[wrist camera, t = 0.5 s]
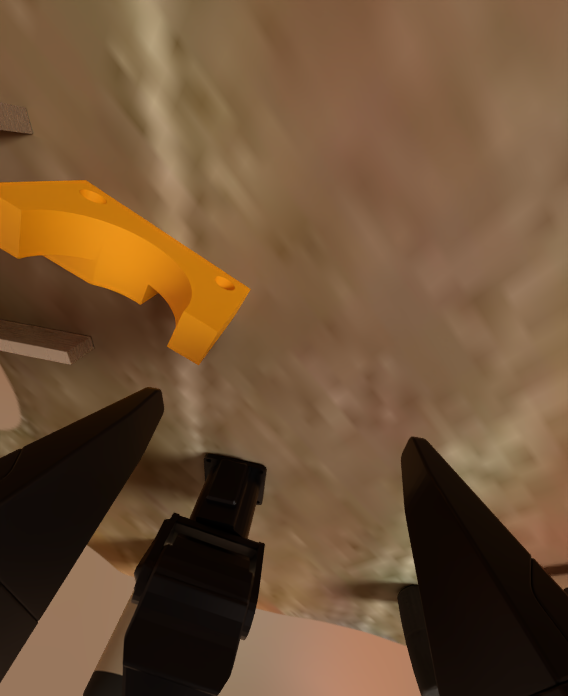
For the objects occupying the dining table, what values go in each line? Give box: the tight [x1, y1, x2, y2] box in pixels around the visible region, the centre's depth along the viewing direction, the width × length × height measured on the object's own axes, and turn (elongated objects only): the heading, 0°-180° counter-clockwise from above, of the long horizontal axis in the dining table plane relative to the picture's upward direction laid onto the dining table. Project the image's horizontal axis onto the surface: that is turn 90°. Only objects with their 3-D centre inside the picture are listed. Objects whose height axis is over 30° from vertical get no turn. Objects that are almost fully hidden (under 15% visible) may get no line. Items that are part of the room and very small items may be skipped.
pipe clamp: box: [0, 180, 251, 365], centre depth 17 cm, size 12×4×6 cm, turn 57°
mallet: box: [398, 585, 568, 696], centre depth 29 cm, size 29×6×10 cm, turn 132°
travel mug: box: [83, 544, 172, 696], centre depth 36 cm, size 8×8×18 cm
